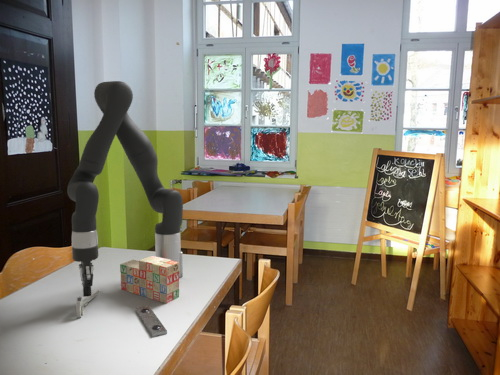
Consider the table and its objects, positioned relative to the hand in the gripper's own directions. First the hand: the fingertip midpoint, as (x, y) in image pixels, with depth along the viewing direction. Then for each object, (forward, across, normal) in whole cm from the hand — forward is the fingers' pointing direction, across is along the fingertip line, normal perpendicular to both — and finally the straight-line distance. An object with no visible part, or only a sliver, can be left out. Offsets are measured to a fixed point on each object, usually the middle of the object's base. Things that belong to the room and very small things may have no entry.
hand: (87, 297), depth 129 cm
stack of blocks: (+2, -1, -20) cm, 20 cm away
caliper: (+3, -1, 0) cm, 3 cm away
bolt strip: (+2, -22, -14) cm, 26 cm away
